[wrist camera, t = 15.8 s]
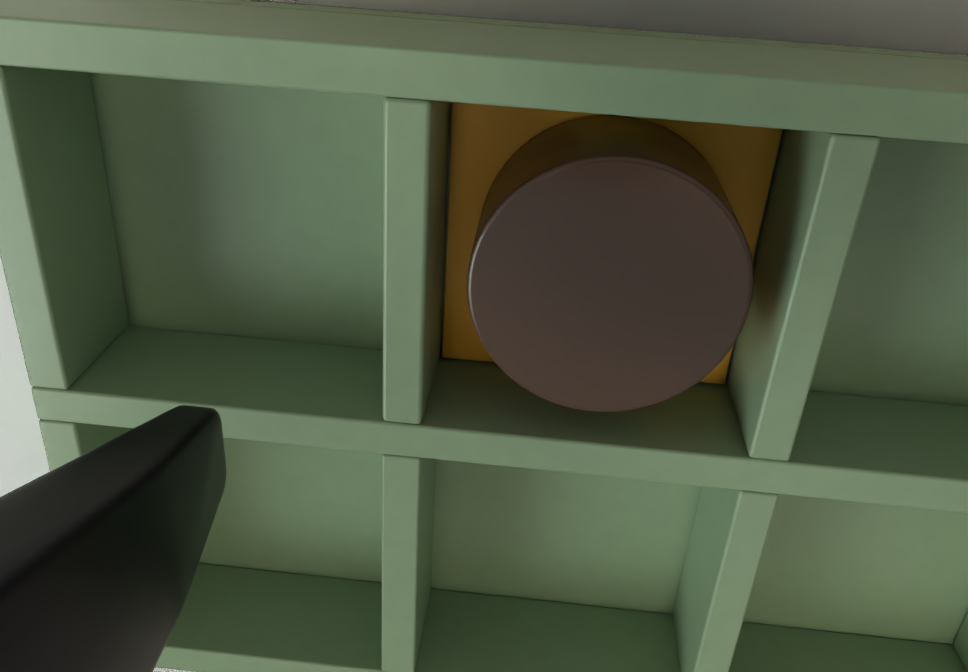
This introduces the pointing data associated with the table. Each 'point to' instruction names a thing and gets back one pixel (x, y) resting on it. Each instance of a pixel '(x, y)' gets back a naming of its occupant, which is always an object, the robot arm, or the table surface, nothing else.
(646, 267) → the cylinder
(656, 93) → the grid
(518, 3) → the table surface
